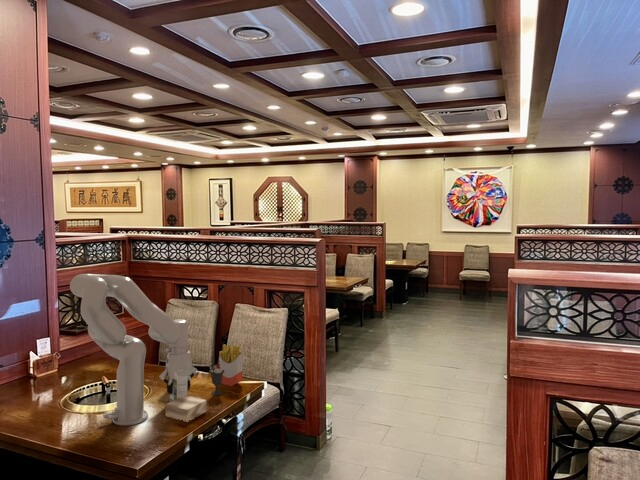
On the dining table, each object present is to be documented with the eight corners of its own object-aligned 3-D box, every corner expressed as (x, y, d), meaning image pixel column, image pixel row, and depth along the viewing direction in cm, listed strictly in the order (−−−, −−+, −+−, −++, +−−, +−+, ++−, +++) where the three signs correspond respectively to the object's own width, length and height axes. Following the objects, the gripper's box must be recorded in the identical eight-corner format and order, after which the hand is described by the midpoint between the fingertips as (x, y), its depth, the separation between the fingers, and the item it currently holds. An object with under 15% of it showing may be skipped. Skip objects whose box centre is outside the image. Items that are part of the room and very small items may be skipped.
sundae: (221, 396, 202) (221, 362, 201) (206, 395, 204) (206, 361, 203) (227, 391, 209) (227, 358, 208) (213, 389, 210) (213, 357, 209)
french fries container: (236, 387, 213) (236, 348, 212) (217, 383, 218) (217, 345, 217) (242, 384, 217) (242, 346, 216) (223, 380, 222) (224, 343, 221)
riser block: (187, 422, 178) (187, 410, 177) (165, 416, 182) (165, 404, 182) (206, 412, 187) (206, 400, 187) (185, 406, 192) (185, 394, 192)
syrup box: (169, 401, 197) (169, 367, 196) (182, 397, 200) (182, 364, 200) (174, 405, 192) (174, 371, 191) (188, 402, 196) (188, 368, 195)
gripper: (161, 355, 187) (161, 399, 188) (202, 348, 198) (201, 389, 199) (154, 350, 193) (154, 393, 194) (194, 344, 203) (194, 384, 204)
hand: (178, 391), depth 196 cm, fingers open, 6 cm apart
